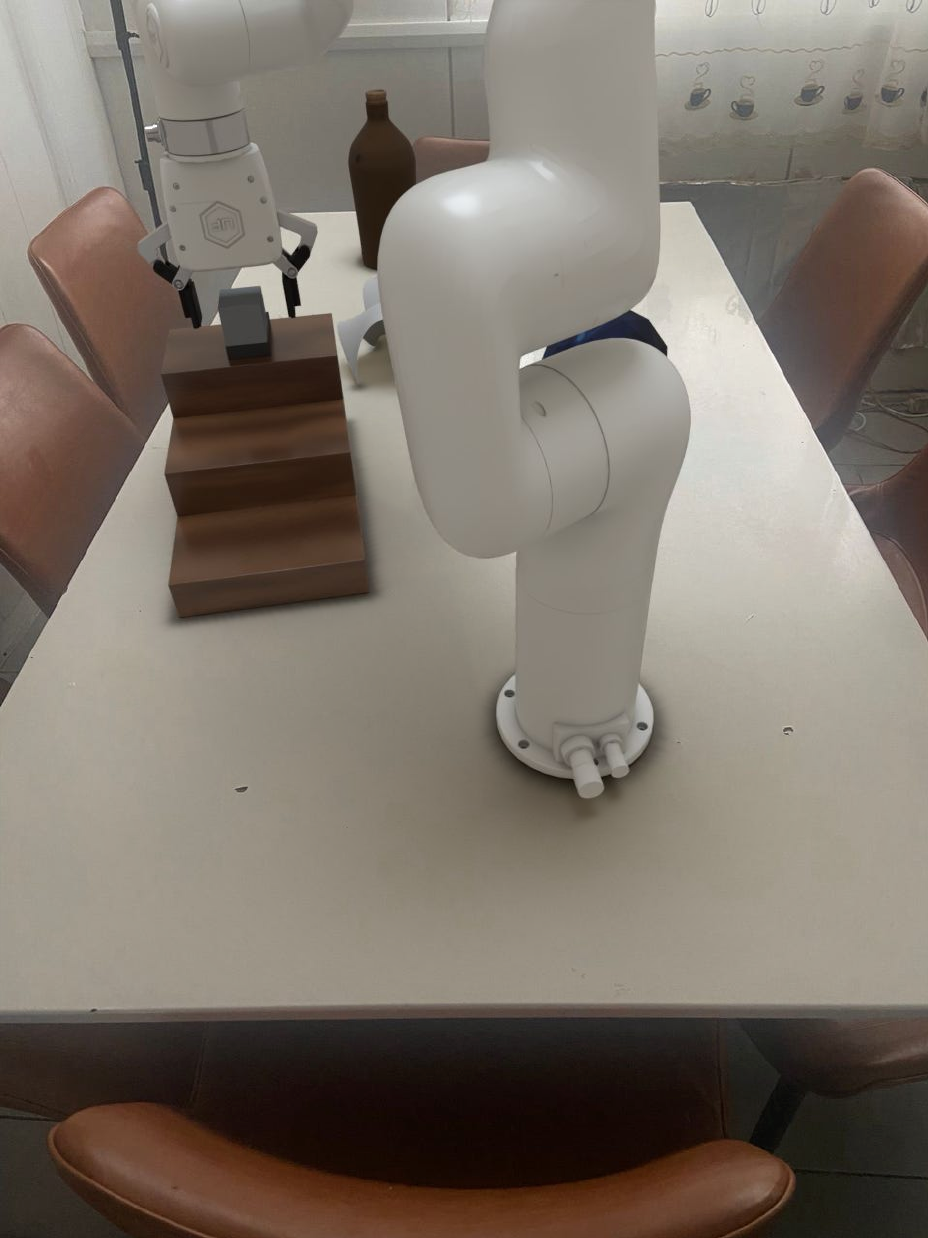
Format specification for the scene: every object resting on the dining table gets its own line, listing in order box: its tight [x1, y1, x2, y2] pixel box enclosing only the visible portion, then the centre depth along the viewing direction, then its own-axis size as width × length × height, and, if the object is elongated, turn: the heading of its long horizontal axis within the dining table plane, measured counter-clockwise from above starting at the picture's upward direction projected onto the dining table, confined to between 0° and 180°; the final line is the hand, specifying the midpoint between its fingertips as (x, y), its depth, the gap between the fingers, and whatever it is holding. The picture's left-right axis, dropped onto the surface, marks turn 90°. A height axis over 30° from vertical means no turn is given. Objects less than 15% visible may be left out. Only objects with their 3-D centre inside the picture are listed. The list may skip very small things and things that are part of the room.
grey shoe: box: [217, 285, 271, 360], centre depth 94 cm, size 8×4×6 cm, turn 9°
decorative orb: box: [541, 309, 669, 360], centre depth 102 cm, size 14×15×15 cm
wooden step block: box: [160, 312, 370, 618], centre depth 92 cm, size 33×18×14 cm, turn 9°
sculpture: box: [336, 276, 386, 387], centre depth 122 cm, size 25×19×10 cm
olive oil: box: [347, 88, 417, 270], centre depth 142 cm, size 11×11×25 cm
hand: (245, 318), depth 92 cm, fingers open, 9 cm apart
